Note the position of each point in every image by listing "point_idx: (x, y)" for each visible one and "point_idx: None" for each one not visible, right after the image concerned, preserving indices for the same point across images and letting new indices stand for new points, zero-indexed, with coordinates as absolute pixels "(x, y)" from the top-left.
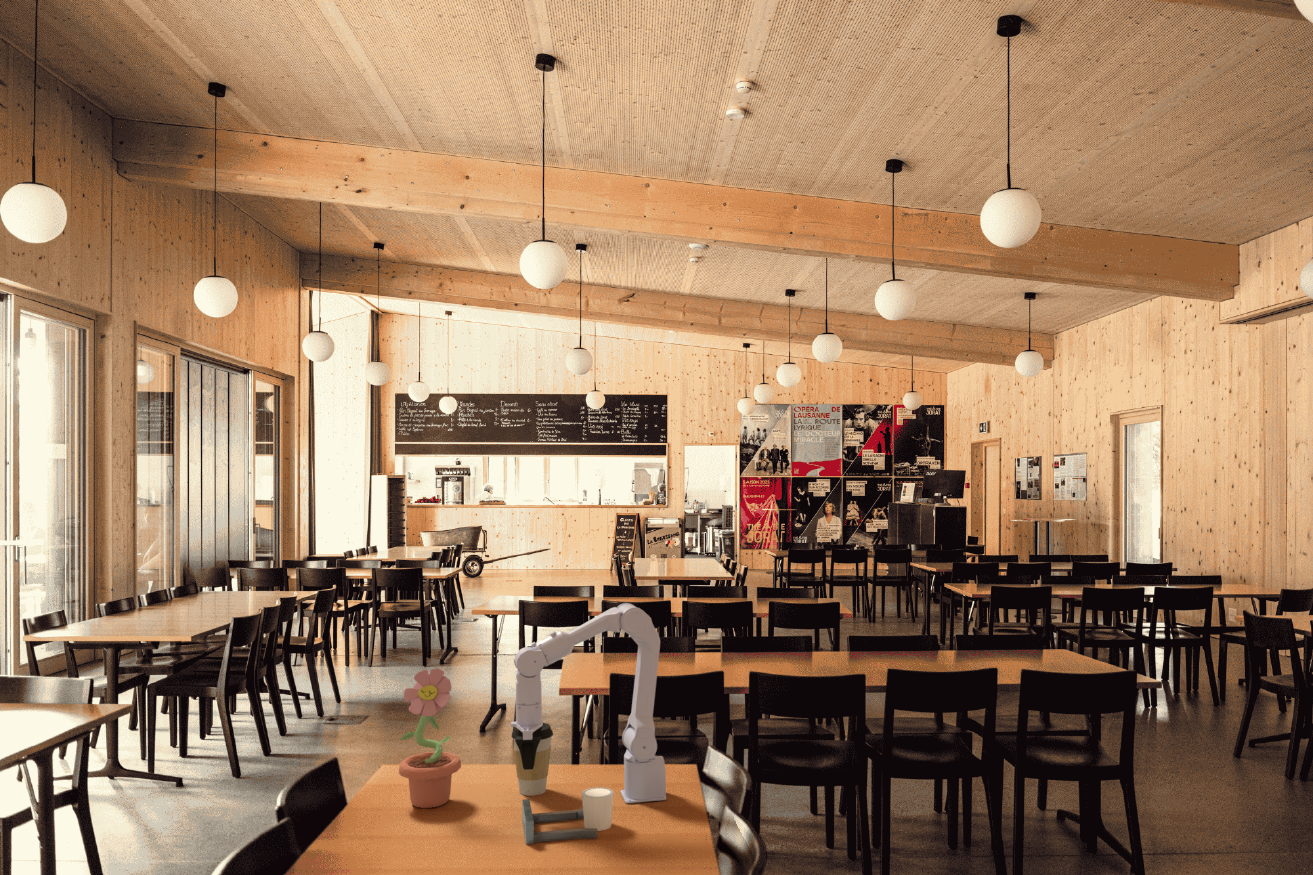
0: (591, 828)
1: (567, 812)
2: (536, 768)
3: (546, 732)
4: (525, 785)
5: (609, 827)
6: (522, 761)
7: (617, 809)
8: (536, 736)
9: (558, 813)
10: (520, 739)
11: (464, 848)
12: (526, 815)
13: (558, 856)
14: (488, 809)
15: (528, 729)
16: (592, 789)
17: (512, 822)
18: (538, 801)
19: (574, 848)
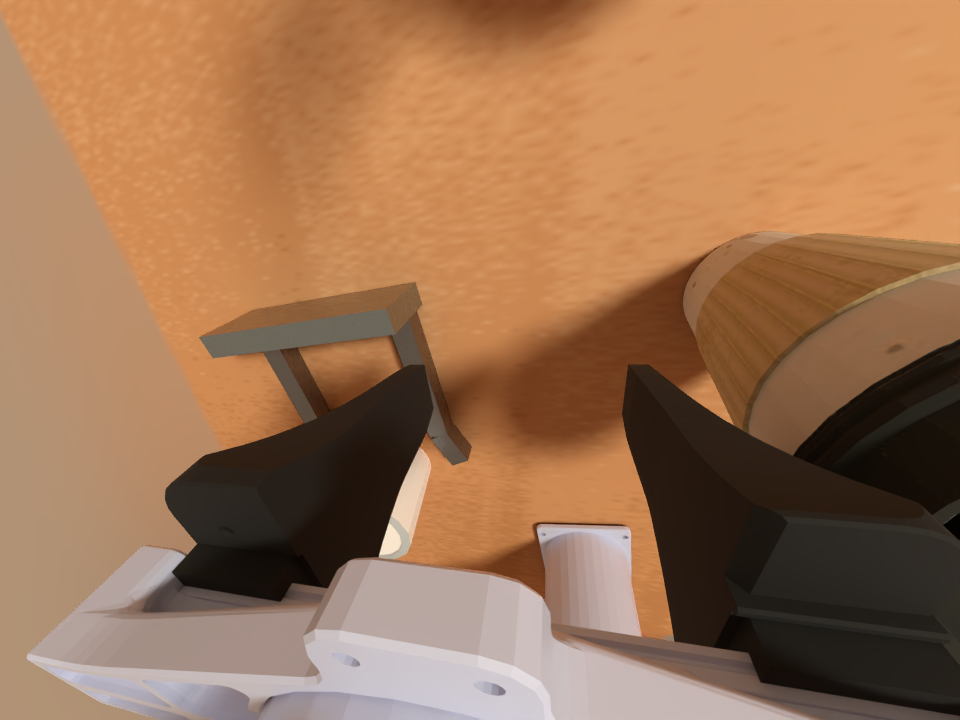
0: None
1: None
2: (712, 369)
3: None
4: (707, 279)
5: None
6: (377, 386)
7: (503, 503)
8: (664, 562)
9: None
10: (179, 521)
11: (154, 105)
12: (245, 334)
13: (221, 382)
14: (541, 109)
15: (127, 695)
16: (390, 525)
17: (400, 249)
18: (604, 322)
19: (270, 412)
